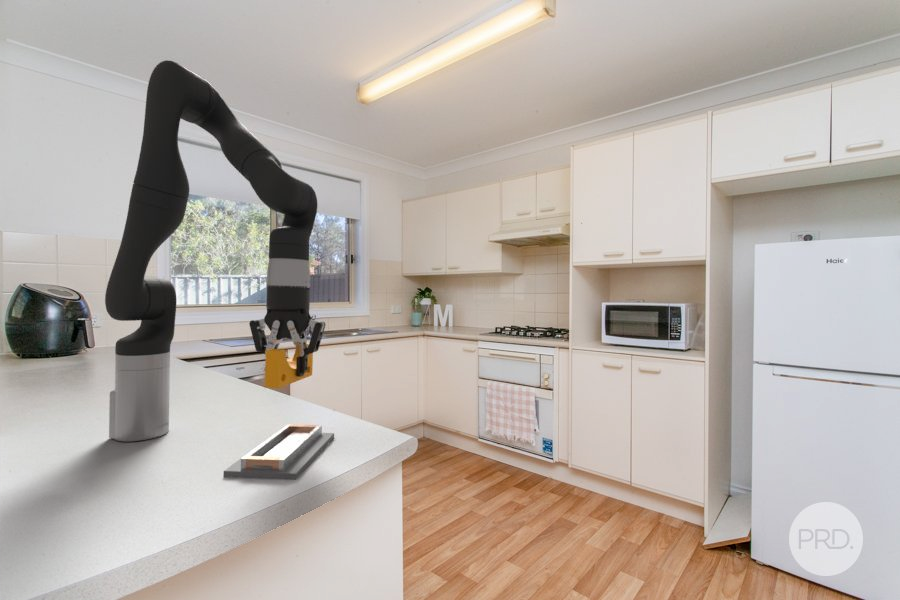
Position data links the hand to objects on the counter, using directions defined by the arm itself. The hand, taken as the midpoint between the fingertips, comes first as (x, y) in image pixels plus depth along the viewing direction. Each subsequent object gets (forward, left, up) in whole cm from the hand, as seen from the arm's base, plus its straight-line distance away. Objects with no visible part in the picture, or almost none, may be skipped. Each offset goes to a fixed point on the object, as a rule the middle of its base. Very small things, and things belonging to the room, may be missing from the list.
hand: (286, 374), depth 77 cm
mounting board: (0, 0, -15) cm, 15 cm away
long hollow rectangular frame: (0, 0, -15) cm, 15 cm away
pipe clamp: (0, 0, -1) cm, 1 cm away
